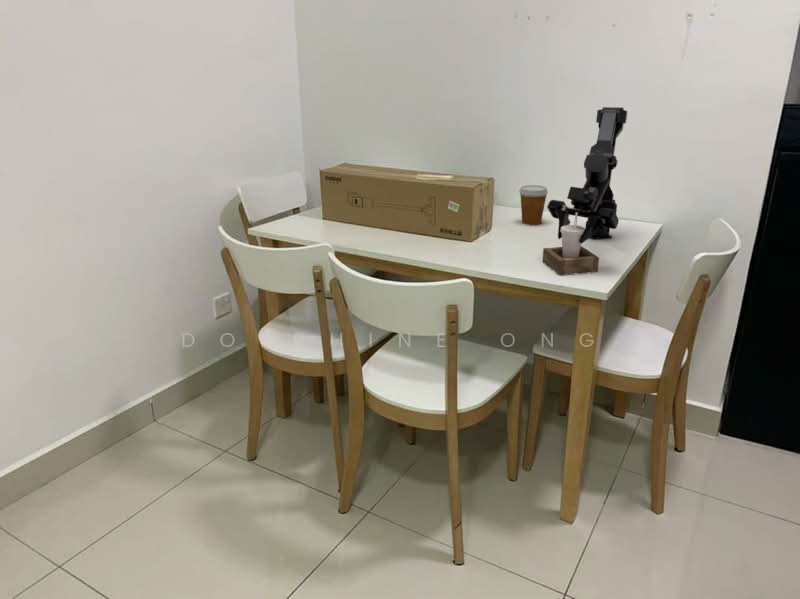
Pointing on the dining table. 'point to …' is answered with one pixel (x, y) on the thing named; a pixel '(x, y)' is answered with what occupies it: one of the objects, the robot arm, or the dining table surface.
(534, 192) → the disposable coffee cup
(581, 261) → the socket block
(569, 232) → the smoothie
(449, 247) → the dining table surface
